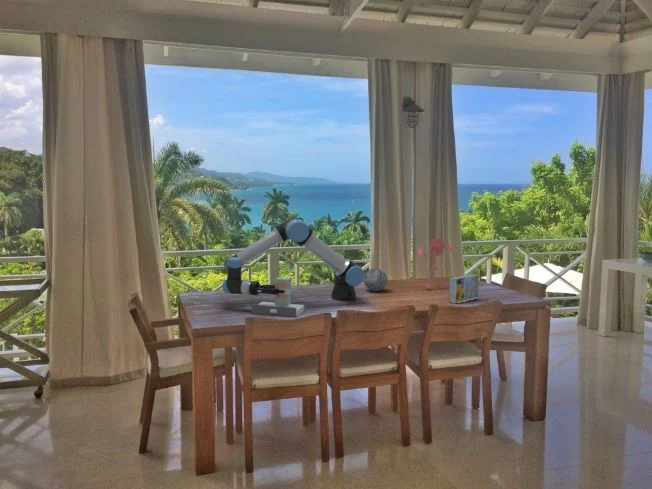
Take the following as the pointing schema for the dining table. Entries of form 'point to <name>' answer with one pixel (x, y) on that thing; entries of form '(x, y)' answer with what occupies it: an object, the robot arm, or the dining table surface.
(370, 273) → the decorative orb
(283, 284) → the carton
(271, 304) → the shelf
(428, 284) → the figurine
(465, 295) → the snack box
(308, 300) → the dining table surface
